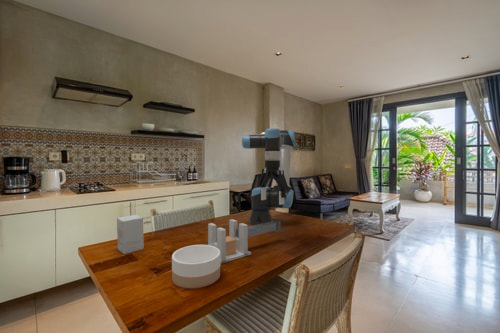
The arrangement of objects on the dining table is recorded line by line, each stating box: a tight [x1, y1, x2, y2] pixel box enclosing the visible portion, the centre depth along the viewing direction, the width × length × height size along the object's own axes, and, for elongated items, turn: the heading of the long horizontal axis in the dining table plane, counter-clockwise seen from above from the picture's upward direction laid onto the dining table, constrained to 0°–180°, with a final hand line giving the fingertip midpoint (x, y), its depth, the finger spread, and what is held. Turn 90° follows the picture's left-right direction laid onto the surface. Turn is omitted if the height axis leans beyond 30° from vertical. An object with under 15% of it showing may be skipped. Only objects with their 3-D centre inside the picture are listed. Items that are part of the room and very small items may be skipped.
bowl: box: [171, 244, 221, 289], centre depth 86 cm, size 17×17×8 cm
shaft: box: [236, 219, 282, 238], centre depth 115 cm, size 24×5×5 cm, turn 126°
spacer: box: [226, 235, 236, 256], centre depth 104 cm, size 6×6×5 cm
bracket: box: [207, 218, 252, 265], centre depth 104 cm, size 17×12×14 cm
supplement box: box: [116, 214, 145, 255], centre depth 110 cm, size 9×9×15 cm
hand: (272, 202), depth 119 cm, fingers open, 13 cm apart
